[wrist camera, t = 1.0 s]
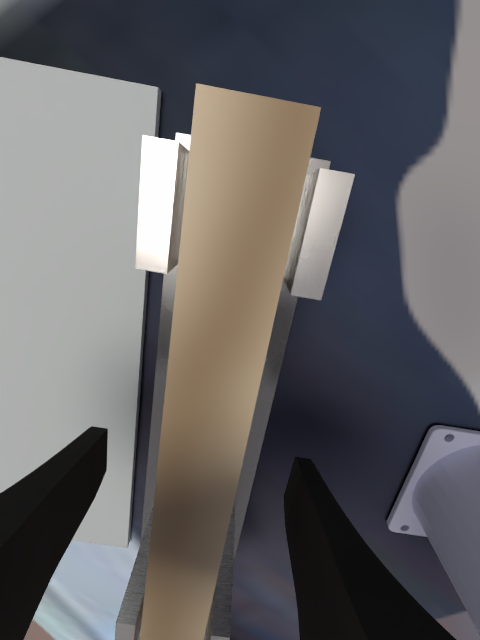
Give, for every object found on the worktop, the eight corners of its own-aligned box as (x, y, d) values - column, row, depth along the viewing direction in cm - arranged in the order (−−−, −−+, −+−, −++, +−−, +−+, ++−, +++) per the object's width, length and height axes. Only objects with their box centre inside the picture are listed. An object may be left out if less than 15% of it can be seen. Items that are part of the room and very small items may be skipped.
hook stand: (323, 164, 13) (395, 129, 7) (235, 539, 21) (229, 689, 15) (182, 138, 13) (117, 75, 7) (146, 527, 21) (99, 672, 15)
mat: (161, 91, 13) (157, 87, 12) (129, 540, 22) (127, 547, 21) (-96, 42, 12) (-110, 36, 12) (-20, 519, 21) (-26, 526, 21)
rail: (301, 133, 9) (320, 107, 6) (198, 630, 17) (190, 700, 14) (210, 116, 9) (196, 83, 6) (150, 624, 17) (134, 693, 14)
